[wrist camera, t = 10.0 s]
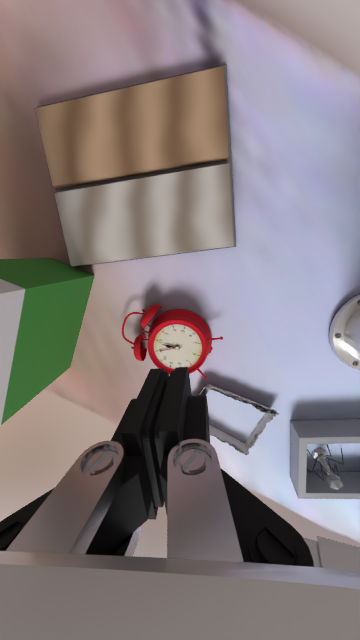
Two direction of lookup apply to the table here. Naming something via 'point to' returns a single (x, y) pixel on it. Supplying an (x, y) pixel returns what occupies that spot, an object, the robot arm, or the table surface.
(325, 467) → the bacteriophage
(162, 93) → the walnut plank
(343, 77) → the table surface
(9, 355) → the hardback book
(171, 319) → the alarm clock
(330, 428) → the grey tray
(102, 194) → the grey oak plank
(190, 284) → the table surface
